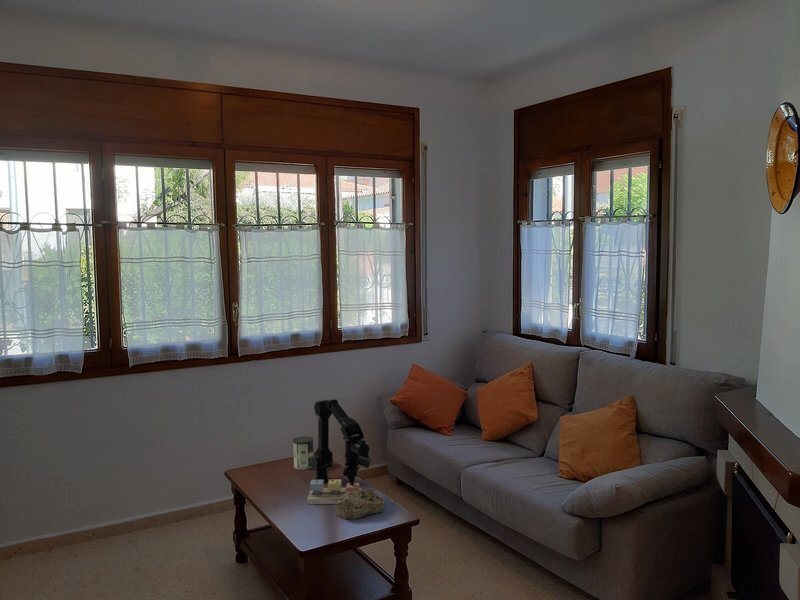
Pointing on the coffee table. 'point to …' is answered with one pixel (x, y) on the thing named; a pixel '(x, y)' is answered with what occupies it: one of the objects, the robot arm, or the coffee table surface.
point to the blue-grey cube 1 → (316, 486)
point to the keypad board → (325, 497)
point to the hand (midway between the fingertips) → (352, 484)
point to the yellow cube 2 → (334, 486)
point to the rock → (359, 504)
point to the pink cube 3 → (352, 487)
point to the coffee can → (303, 452)
